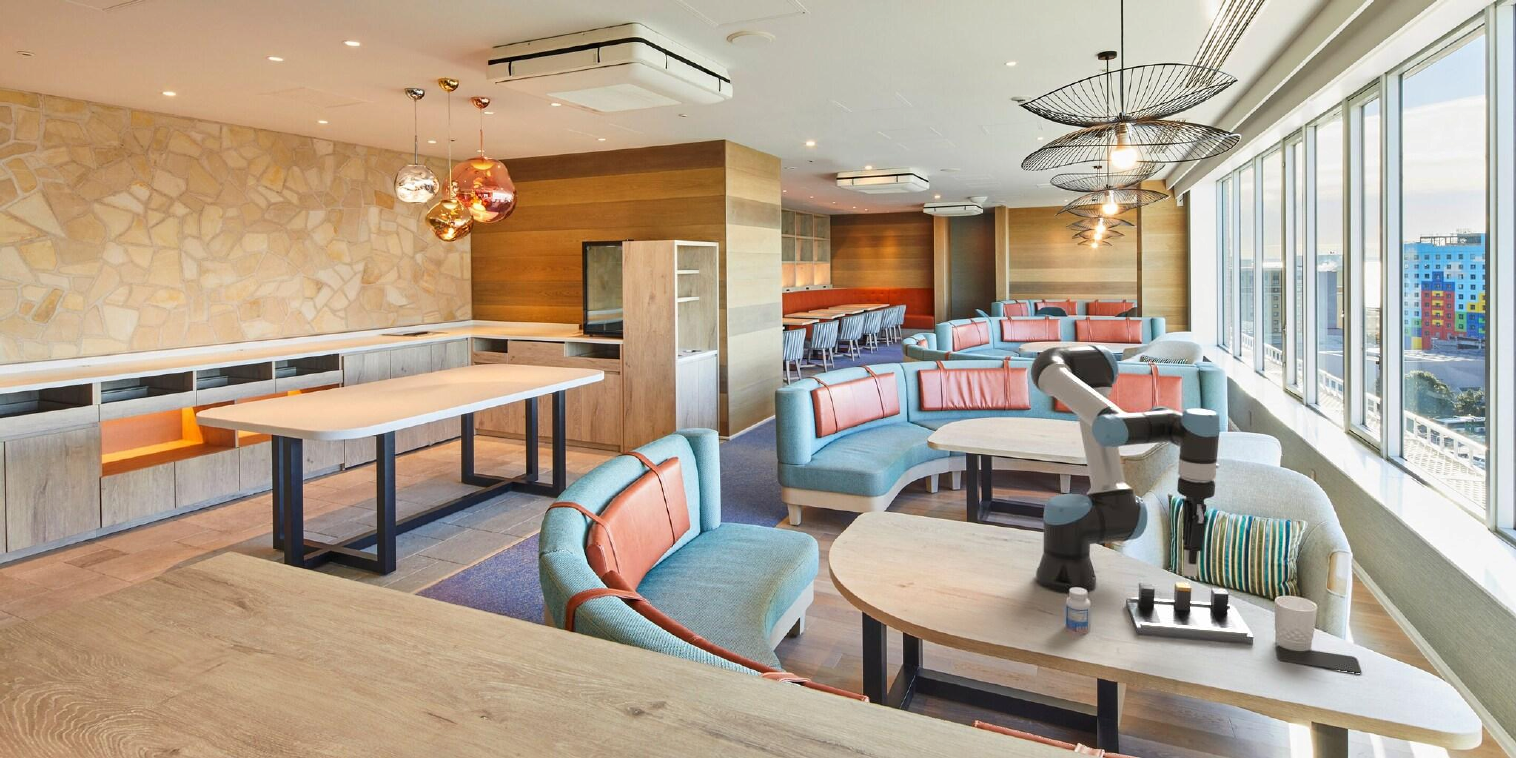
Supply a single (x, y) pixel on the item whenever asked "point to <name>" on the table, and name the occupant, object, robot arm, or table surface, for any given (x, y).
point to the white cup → (1294, 622)
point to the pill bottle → (1078, 611)
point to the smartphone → (1318, 659)
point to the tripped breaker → (1182, 596)
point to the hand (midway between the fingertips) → (1189, 574)
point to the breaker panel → (1187, 618)
